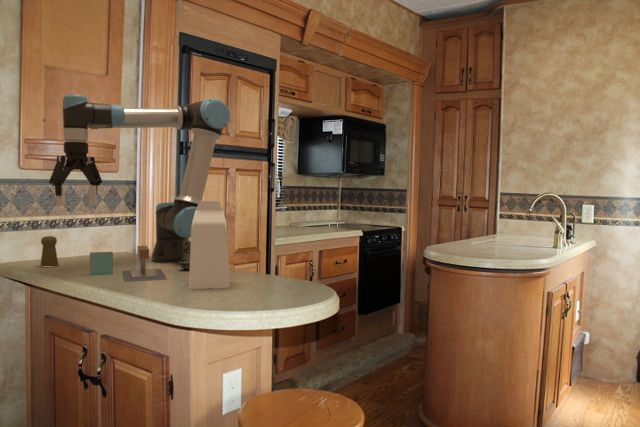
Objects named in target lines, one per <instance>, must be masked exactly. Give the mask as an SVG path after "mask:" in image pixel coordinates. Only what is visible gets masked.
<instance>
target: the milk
mask: <svg viewBox="0 0 640 427" xmlns="http://www.w3.org/2000/svg"><path fill="white" fill-rule="evenodd" d="M228 240H229V237H228V226H227V220H226V216H225V212H224V210H223V206H222V204H221V202H220V200H202V201H199V204H198V206H197V208H196V210H195V214H194V218H193V221H192V226H191V237H190V242H191V247H190V270H189V274H188V275H189V279H188V290H205V289H206V290H207V288H213V289H230V288H231V285H230V284H231V282H230V261H229V260H230V259H229V241H228ZM228 287H229V288H228Z"/></svg>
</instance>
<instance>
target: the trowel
mask: <svg viewBox="0 0 640 427" xmlns="http://www.w3.org/2000/svg"><path fill="white" fill-rule="evenodd" d="M136 250H137V252H136V253H137V257H138V259H139V261H140V262H139V265H140V266H139V268H140V269H135V270H136V271H130V274H131V277H132V279H145V278H158V274H157V272H156V271H155V270H148V269H147V268H146V267H147V266H146V263H147V262H146V260H147V259H149V260H150V249H149V247H148V245H137V249H136Z"/></svg>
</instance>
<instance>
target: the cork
mask: <svg viewBox="0 0 640 427" xmlns="http://www.w3.org/2000/svg"><path fill="white" fill-rule="evenodd" d="M57 241H58V240H57V238H56V237H55V236H53V235H52V236H51V235H48V236H47V235H46V236H43V237H42V238H41V239H40V242H41V243H40V244H41V245H42V251H41V259H40V266H41V265H42V266H56V265H58V266H59V260H58V255H57V248H56V244H57ZM56 267H57V266H56Z"/></svg>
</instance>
